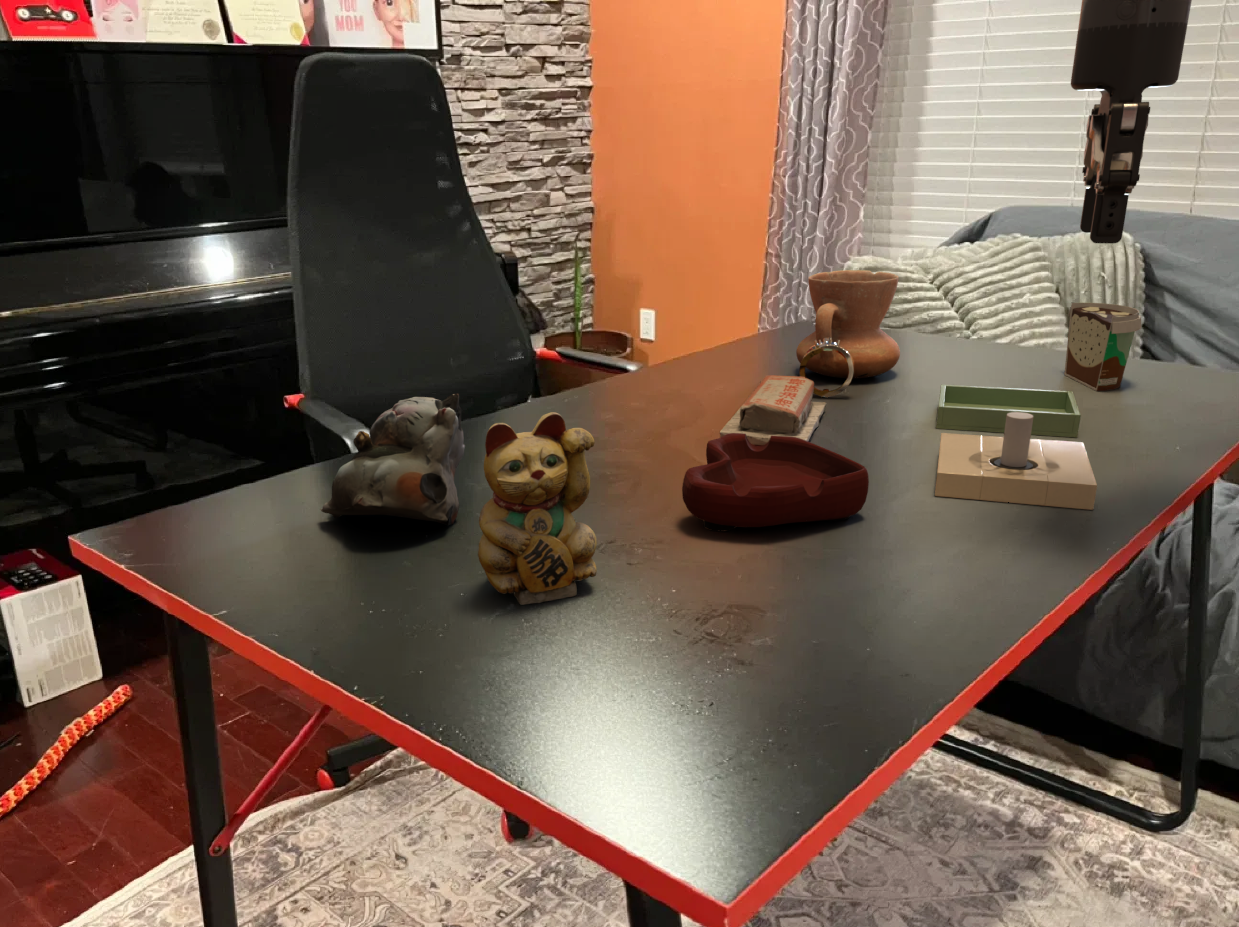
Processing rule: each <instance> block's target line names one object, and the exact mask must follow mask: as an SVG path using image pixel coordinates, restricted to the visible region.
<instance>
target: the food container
mask: <svg viewBox="0 0 1239 927" xmlns="http://www.w3.org/2000/svg"><path fill="white" fill-rule="evenodd" d="M1067 317H1068V318H1069V323H1068V332H1067V343H1066V354H1065V365H1064V374H1063V376H1065V377H1067V378H1070V379H1072V380H1074V381H1076V383H1077V382H1078V383H1079V384H1080V385H1083V386H1085V387H1087V388H1089V389H1090V390H1094V391H1095V392H1107V391H1113V390H1116V389H1118V388H1120V387H1121V386H1122V381H1123V378H1124V373H1125V369H1126V366H1127V362H1128V358H1129V355H1130V350H1131V348H1132V343H1133V340H1134V336H1135V333H1136V332H1137V331H1140V330H1141V329H1142V316H1141V315H1140V310H1139V309H1137V308H1134V307H1131V306H1126V305H1120V304H1115V303H1104V302H1071V304H1070V307H1069V310H1068V314H1067Z"/></svg>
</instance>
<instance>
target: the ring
mask: <svg viewBox="0 0 1239 927" xmlns="http://www.w3.org/2000/svg"><path fill="white" fill-rule="evenodd" d="M839 342H840V340H837V343H836V342H832V338H831V337H829V338H824V339H823V342H821V340H819V343H818V344H817V340H815V341H814V343H815V345H814V346H812V347H811V348H810V349H809V350H808V351H807V352H806V354H805V355H804V357H803V360H802V361H801V364H800V363H799V377H800V376H802V377H805V378H807V379H808V377H807V374H806V369H807V368H806V364H807V362H808V361H809V360H810V359H811V358H812V357H813V356H815V355H817V354H819V353H821V352H822V350H823V351H832V350H835V351H836V352H838V353H839V354H841V355H842V356H843V357H844V358H845V359H846V361H847V363H848V367H849V373H848V377H847V378H846V380H845V381H844V383H843V384H842V385H841V386H839V387H838V388H835V389H832V390H830V389H829V388H823V389H819V388H817V387H815V386H814V392H813V395H816V396H819V397H821V398H822V397H823V396H825V397H827V398H828V397H834V396H837V395H839V394H841V393H842V392H844V391H845V390H846V389H847V388H848V387H849V386H850V384H851V383H852V381H853V380H854V378H853V376H854V371H855V365H854V361H853V358H852V356H851V355H850V354H849V352H848V351H846V350H845V349H844V348H842V347H840V346H838V345H839Z"/></svg>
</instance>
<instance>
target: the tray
mask: <svg viewBox="0 0 1239 927" xmlns="http://www.w3.org/2000/svg"><path fill="white" fill-rule="evenodd" d="M1011 412H1023V413H1028V414H1031V415H1033V423H1032V430H1031V436H1048V437H1059V438H1060V437H1063V438H1078V435H1079V429H1080V422H1081V416H1082V415H1081V412H1080V409H1079V407H1078V403H1077V401H1076V397H1075V395H1074V393H1073V391H1071V390H1056V389H1055V390H1053V389H1037V388H1036V389H1032V388H1015V387H1014V388H1013V387H997V386H996V387H993V386H979V385H977V386H976V385H975V386H974V385H957V384H956V385H955V384H941V385H940V390H939V398H938V407H937V416H936V425H935V428H936V429H940V430H955V431H968V432H969V431H971V432H988V433H1001V434H1004V431H1005V424H1006V416H1007V414H1008V413H1011Z"/></svg>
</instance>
